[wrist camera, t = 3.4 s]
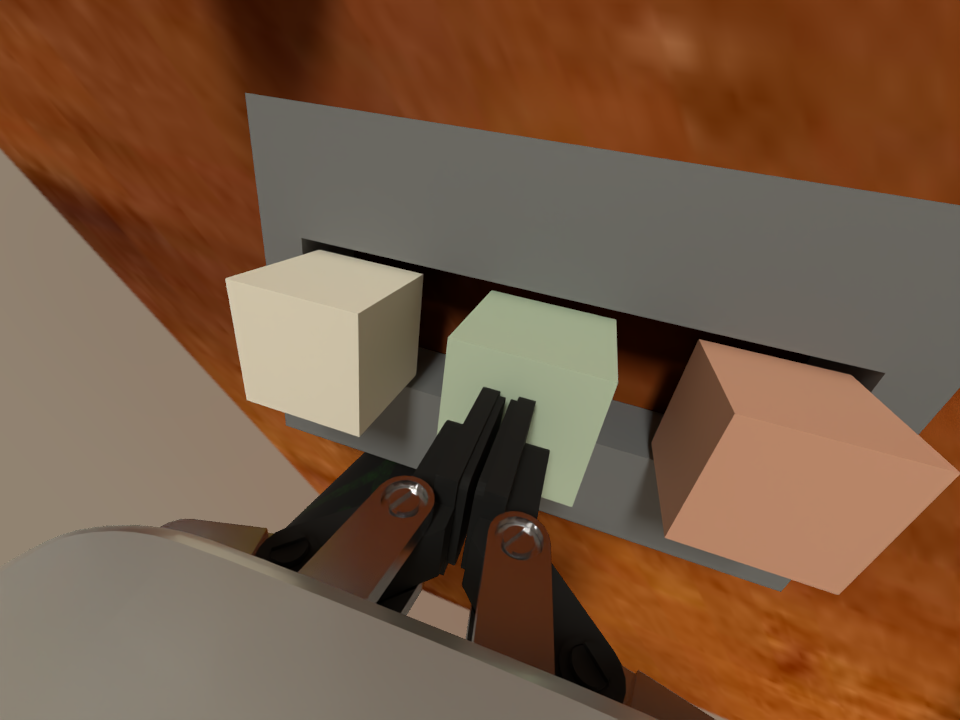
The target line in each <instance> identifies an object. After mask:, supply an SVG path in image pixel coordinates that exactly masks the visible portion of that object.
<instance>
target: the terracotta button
mask: <svg viewBox="0 0 960 720" xmlns="http://www.w3.org/2000/svg"><path fill="white" fill-rule="evenodd" d="M651 444H652V451H653V458H654V466H655V473H656V480H657V487H658V494H659V501H660V508H661V516H662V523H663V530H664V537H665V538H667V539H670V540H673V541H676V542H679V543H682V544H685V545H688V546H691V547H694V548H697V549H700V550H703V551H706V552H709V553H712V554H716V555H719V556H722V557H725V558H728V559H731V560H734V561H737V562H740V563H743V564H746V565H749V566H752V567H755V568H758V569H761V570H764V571H767V572H770V573H773V574H776V575H779V576H782V577H785V578H788V579H791V580H794V581H797V582H800V583H803V584H807V585H810V586H813V587H816V588H819V589H822V590H825V591H828V592H831V593H834V594H837V595H839V594H840V593H841V592H842V591H843V590H844V589H845V588H846V587H847V586H848V585H849V584H850V583H851V582H852V581H853V580H854V579H855V578H856V577H857V576H858V575H859V574H860V573H861V572H862V571H863V570H864V569H865V568H866V567H867V566H868V565H869V564H870V563H871V562H872V561H873V560H874V559H875V558H876V557H877V556H878V555H879V554H880V553H881V552H882V551H883V550H884V549H885V548H886V547H887V546H888V545H889V544H890V543H891V542H892V541H893V540H894V539H895V538H896V537H897V536H898V535H899V534H900V533H901V532H902V531H903V530H904V529H905V528H906V527H907V526H908V525H909V524H910V523H911V522H912V521H913V520H914V519H915V518H916V517H917V516H918V515H919V514H920V513H921V512H922V511H923V510H924V509H925V508H926V507H927V506H928V505H929V504H930V503H931V502H932V501H933V500H934V499H935V498H936V497H937V496H938V495H939V494H940V493H941V492H942V491H943V490H944V489H945V488H946V487H947V486H948V485H949V484H950V483H951V482H952V481H953V480H954V479H955V478H956V477H957V476H958V475H959V474H960V472H959V471H958V470H957V469H955V468H954V467H953V466H952V465H951V464H950V463H949V462H948V461H947V460H945V459H944V458H943V457H942V456H941V455H940V454H939V453H938V452H936V451H935V450H934V449H933V448H932V447H931V446H930V445H929V444H928V443H926V442H925V441H924V440H923V439H922V438H921V437H920V436H919V435H918V434H916V433H915V432H914V431H913V430H912V429H911V428H910V427H909V426H908V425H906V424H905V423H904V422H903V421H902V420H901V419H900V418H899V417H897V416H896V415H895V414H894V413H893V412H892V411H891V410H890V409H889V408H887V407H886V406H885V405H884V404H883V403H882V402H881V401H880V400H879V399H877V398H876V397H875V396H874V395H873V394H872V393H871V392H870V391H869V390H867V389H866V388H865V387H864V386H863V385H862V384H861V383H860V382H859V381H857V380H856V379H855V378H854V377H853V376H852V375H849V374H845V373H841V372H837V371H832V370H828V369H824V368H820V367H815V366H811V365H807V364H803V363H799V362H794V361H790V360H786V359H782V358H777V357H773V356H769V355H765V354H760V353H756V352H752V351H748V350H743V349H739V348H735V347H731V346H726V345H722V344H718V343H714V342H709V341H705V340H701V339H699V340H698V342H697V344H696V346H695V348H694V350H693V353H692V355H691V357H690V359H689V361H688V364H687V366H686V368H685V370H684V372H683V374H682V377H681V379H680V381H679V383H678V385H677V388H676V390H675V392H674V394H673V396H672V398H671V401H670V403H669V405H668V407H667V409H666V412H665V414H664V416H663V418H662V420H661V422H660V425H659V427H658V429H657V431H656V433H655V436H654V438H653V440H652V442H651Z"/></svg>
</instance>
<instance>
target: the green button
mask: <svg viewBox="0 0 960 720" xmlns="http://www.w3.org/2000/svg"><path fill="white" fill-rule="evenodd" d="M617 384H618V362H617V327H616V319H612V318H608V317H603V316H599V315H595V314H591V313H586V312H582V311H578V310H574V309H569V308H565V307H561V306H557V305H552V304H548V303H544V302H540V301H535V300H531V299H527V298H523V297H519V296H514V295H510V294H506V293H502V292H497V291H493V290H491V291H490V292H489V294H488V295H487V296H486V297H485V298H484V299H483V300H482V301H481V302H480V303H479V304H478V305H477V307H476V308H475V309H474V310H473V311H472V312H471V313H470V314H469V315H468V316H467V317H466V318H465V320H464V321H463V322H462V323H461V324H460V325H459V326H458V327H457V328H456V329H455V330H454V331H453V333H452V334H451V335H450V336H449V337H448V341H447V350H446V359H445V368H444V377H443V385H442V394H441V403H440V412H439V421H438V430H437V435H438V433H439V431H440V430H441V428H442V427H443V425H444V423H445V422H446V421H447V420H451V421H454V422H458V423H461V424H463V423H464V421H465V419H466V417H467V415H468V414H469V412H470V410H471V408H472V406H473V404H474V403H475V401H476V399H477V397H478V395H479V393H480V391H481V390H482V388H483V387H487V388H491V389H494V390H498V391H500V392H501V393H500V396H502V397H506V401H505V406H504V410H503V415H502V420H503V418H504V415H505V413H506V410H507V408H508V405H509V403H510V400H511V399H513V400H516V401H517V400H518V398H519V397H523V398H527V399H530V400H534V401H536V404H535V408H534V412H533V416H532V420H531V424H530V428H529V432H528V435H527V439H526V443H528V444H531V445H535V446H538V447H542V448H545V449H548V450H550V454H549V459H548V464H547V470H546V475H545V480H544V485H543V490H542V495H541V497H543V498H546V499H549V500H552V501H555V502H558V503H561V504H564V505H567V506H570V507H572V506H573V503H574V501H575V498H576V495H577V492H578V490H579V487H580V484H581V482H582V479H583V476H584V473H585V471H586V468H587V465H588V463H589V460H590V457H591V455H592V452H593V449H594V446H595V444H596V441H597V438H598V436H599V433H600V430H601V427H602V425H603V422H604V419H605V417H606V414H607V411H608V409H609V406H610V403H611V400H612V398H613V395H614V392H615V390H616V387H617ZM502 420H501V423H502Z"/></svg>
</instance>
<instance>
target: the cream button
mask: <svg viewBox="0 0 960 720" xmlns="http://www.w3.org/2000/svg"><path fill="white" fill-rule="evenodd" d="M225 280H226V286H227V291H228V297H229V302H230V308H231V314H232V319H233V325H234V330H235V336H236V342H237V347H238V353H239V358H240V364H241V370H242V375H243V381H244V386H245V392H246V398H247V400H248V401H251V402H254V403H257V404H260V405H263V406H266V407H270V408H273V409H276V410H279V411H282V412H285V413H288V414H291V415H294V416H297V417H300V418H303V419H306V420H309V421H312V422H315V423H318V424H321V425H324V426H327V427H330V428H333V429H336V430H339V431H342V432H345V433H348V434H351V435H354V436H358V437H360V436H361V435H362V434H363V433H364V431H365V430H366V429H367V428H368V427H369V426H370V425H371V424H372V423H373V422H374V420H375V419H376V418H377V417H378V416H379V415H380V414H381V413H382V412H383V411H384V410H385V408H386V407H387V406H388V405H389V404H390V403H391V402H392V401H393V400H394V399H395V397H396V396H397V395H398V394H399V393H400V392H401V391H402V390H403V389H404V388H405V386H406V385H407V384H408V383H409V382H410V381H411V380H412V379H413V378H414V377H415V375H416V370H417V356H418V342H419V328H420V315H421V301H422V287H423V274H421V273H417V272H412V271H408V270H404V269H400V268H395V267H391V266H387V265H383V264H379V263H374V262H370V261H366V260H362V259H357V258H353V257H349V256H345V255H340V254H336V253H332V252H328V251H323V250H317V251H313V252H310V253H307V254H304V255H300V256H297V257H294V258H291V259H287V260H284V261H281V262H277V263H274V264H271V265H268V266H264V267H261V268H258V269H255V270H251V271H248V272H245V273H242V274H238V275H235V276H232V277H229V278H225Z"/></svg>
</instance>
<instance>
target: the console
mask: <svg viewBox="0 0 960 720" xmlns="http://www.w3.org/2000/svg"><path fill="white" fill-rule="evenodd" d="M245 97H246V105H247V113H248V121H249V129H250V137H251V145H252V153H253V161H254V169H255V177H256V185H257V193H258V201H259V209H260V217H261V226H262V234H263V242H264V250H265V258H266V266H268V265H271V264H274V263H277V262H281V261H284V260H287V259H291V258H294V257H297V256H300V255H304V254H307V253H310V252H313V251H317V250H323V251H328V252H332V253H336V254H340V255H345V256H349V257H353V258H354V250H356V251H360V252H365V253H369V254H373V255H378V256H382V257H386V258H391V259H395V260H399V261H404V262H408V263H412V264H417V265H421V266H425V267H429V268H434V269H438V270H442V271H447V272H451V273H455V274H460V275H464V276H468V277H473V278H477V279H481V280H486V281H490V282H494V283H499V284H503V285H507V286H512V287H516V288H520V289H524V290H529V291H533V292H537V293H542V294H546V295H550V296H555V297H559V298H563V299H568V300H572V301H576V302H581V303H585V304H589V305H594V306H598V307H602V308H606V309H611V310H615V311H619V312H624V313H628V314H632V315H637V316H641V317H645V318H650V319H654V320H658V321H663V322H667V323H671V324H676V325H680V326H684V327H688V328H693V329H697V330H701V331H706V332H710V333H714V334H719V335H723V336H727V337H732V338H736V339H740V340H745V341H749V342H753V343H758V344H762V345H766V346H771V347H775V348H779V349H783V350H788V351H792V352H796V353H801V354H805V355H809V356H810V358H809V359H808V361H807V363H806V364H807V365H811V366H815V367H820V368H824V369H828V370H832V371H837V372H841V373H845V374H849V375H852V376H853V377H854V378H855V379H856V380H857V381H859V382H860V383H861V384H862V385H863V386H864V387H865V388H866V389H867V390H869V391H870V392H871V393H872V394H873V395H874V396H875V397H876V398H877V399H879V400H880V401H881V402H882V403H883V404H884V405H885V406H886V407H887V408H889V409H890V410H891V411H892V412H893V413H894V414H895V415H896V416H897V417H899V418H900V419H901V420H902V421H903V422H904V423H905V424H906V425H908V426H909V427H910V428H911V429H912V430H913V431H914V432H915V433H916V434H919V433H920V432H921V431H922V430H923V429H924V428H925V426H926V425H927V424H928V423H929V422H930V421H931V420H932V418H933V417H934V416H935V415H936V414H937V413H938V412H939V410H940V409H941V408H942V407H943V406H944V405H945V404H946V402H947V401H948V400H949V399H950V398H951V397H952V396H953V395H954V393H955V392H956V391H957V390H958V389H959V388H960V205H954V204H947V203H941V202H935V201H928V200H922V199H916V198H909V197H903V196H897V195H890V194H884V193H878V192H871V191H865V190H859V189H852V188H846V187H840V186H833V185H827V184H821V183H814V182H808V181H801V180H795V179H789V178H782V177H776V176H770V175H763V174H757V173H751V172H744V171H738V170H732V169H725V168H719V167H713V166H706V165H700V164H694V163H687V162H681V161H675V160H668V159H662V158H656V157H649V156H643V155H637V154H630V153H624V152H618V151H611V150H605V149H598V148H592V147H586V146H579V145H573V144H567V143H560V142H554V141H548V140H541V139H535V138H529V137H522V136H516V135H510V134H503V133H497V132H491V131H484V130H478V129H472V128H465V127H459V126H453V125H446V124H440V123H434V122H427V121H421V120H414V119H408V118H402V117H395V116H389V115H383V114H376V113H370V112H364V111H357V110H351V109H345V108H338V107H332V106H326V105H319V104H313V103H307V102H300V101H294V100H288V99H281V98H275V97H269V96H262V95H256V94H250V93H245ZM445 359H446V354H442V353H439V352H435V351H431V350H428V349H424V348H420V347H418V356H417V370H416V375H415V377H414V378H413V379H412V380H411V381H410V382H409V383H408V384H407V385H406V386H405V388H404V389H403V390H402V391H401V392H400V393H399V394H398V395H397V396H396V397H395V399H394V400H393V401H392V402H391V403H390V404H389V405H388V406H387V407H386V408H385V410H384V411H383V412H382V413H381V414H380V415H379V416H378V417H377V418H376V419H375V420H374V422H373V423H372V424H371V425H370V426H369V427H368V428H367V429H366V430H365V431H364V433H363V434H362V435H361V436H360V437H358V436H354V435H351V434H348V433H345V432H342V431H339V430H336V429H333V428H330V427H327V426H324V425H321V424H318V423H315V422H312V421H309V420H306V419H303V418H300V417H297V416H294V415H291V414H288V413H285V419H286V425H287V426H290V427H293V428H296V429H299V430H301V431H304V432H307V433H310V434H313V435H316V436H319V437H322V438H325V439H328V440H331V441H334V442H337V443H340V444H343V445H346V446H349V447H352V448H355V449H358V450H361V451H364V452H367V453H370V454H373V455H376V456H379V457H382V458H385V459H388V460H391V461H394V462H397V463H400V464H403V465H406V466H409V467H411V468H414V469H417V467H418V466H419V464H420V462H421V461H422V459H423V458H424V456H425V454H426V453H427V451H428V449H429V448H430V446H431V444H432V443H433V441H434V440H435V438H436V436H437V430H438V421H439V412H440V403H441V394H442V385H443V377H444V368H445ZM663 416H664V414H662V413H658V412H654V411H651V410H647V409H643V408H640V407H636V406H632V405H629V404H625V403H621V402H618V401H614V400H611V403H610V406H609V409H608V411H607V414H606V417H605V419H604V422H603V425H602V427H601V430H600V433H599V436H598V438H597V441H596V444H595V446H594V449H593V452H592V455H591V457H590V460H589V463H588V465H587V468H586V471H585V473H584V476H583V479H582V482H581V484H580V487H579V490H578V492H577V495H576V498H575V501H574V503H573V506H572V507H570V506H567V505H564V504H561V503H558V502H555V501H552V500H549V499H546V498H543V497H541V501H540V506H539V511H542V512H545V513H548V514H551V515H554V516H557V517H560V518H563V519H566V520H569V521H572V522H575V523H578V524H581V525H584V526H587V527H590V528H593V529H596V530H599V531H602V532H605V533H608V534H611V535H614V536H617V537H620V538H623V539H626V540H629V541H631V542H634V543H637V544H640V545H643V546H646V547H649V548H652V549H655V550H658V551H661V552H664V553H667V554H670V555H673V556H676V557H679V558H682V559H685V560H688V561H691V562H694V563H697V564H700V565H703V566H706V567H709V568H712V569H715V570H718V571H721V572H724V573H727V574H730V575H733V576H736V577H738V578H741V579H744V580H747V581H750V582H753V583H756V584H759V585H762V586H765V587H768V588H771V589H774V590H777V591H780V592H781V591H782V590H783V589H784V587H785V586H786V585H787V584H788V583H789V582H790V581H791V579H788V578H785V577H782V576H779V575H776V574H773V573H770V572H767V571H764V570H761V569H758V568H755V567H752V566H749V565H746V564H743V563H740V562H737V561H734V560H731V559H728V558H725V557H722V556H719V555H716V554H712V553H709V552H706V551H703V550H700V549H697V548H694V547H691V546H688V545H685V544H682V543H679V542H676V541H673V540H670V539H667V538H665V537H664V530H663V523H662V516H661V508H660V501H659V494H658V487H657V480H656V473H655V466H654V458H653V451H652V444H651V442H652V440H653V438H654V436H655V433H656V431H657V429H658V427H659V425H660V422H661V420H662V418H663Z"/></svg>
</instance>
